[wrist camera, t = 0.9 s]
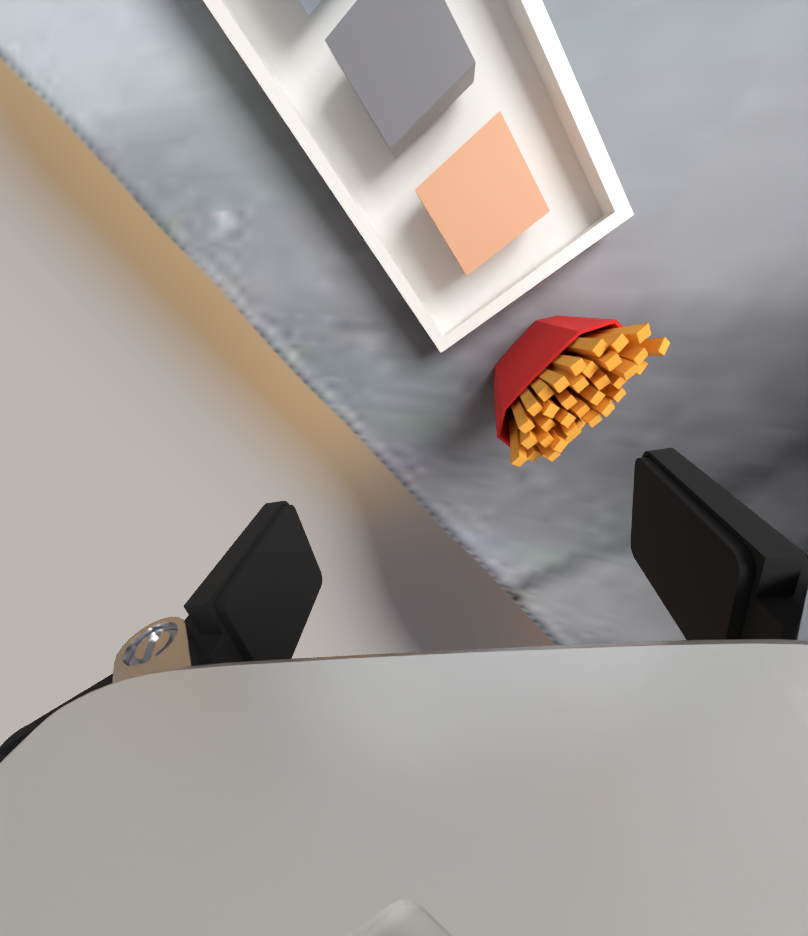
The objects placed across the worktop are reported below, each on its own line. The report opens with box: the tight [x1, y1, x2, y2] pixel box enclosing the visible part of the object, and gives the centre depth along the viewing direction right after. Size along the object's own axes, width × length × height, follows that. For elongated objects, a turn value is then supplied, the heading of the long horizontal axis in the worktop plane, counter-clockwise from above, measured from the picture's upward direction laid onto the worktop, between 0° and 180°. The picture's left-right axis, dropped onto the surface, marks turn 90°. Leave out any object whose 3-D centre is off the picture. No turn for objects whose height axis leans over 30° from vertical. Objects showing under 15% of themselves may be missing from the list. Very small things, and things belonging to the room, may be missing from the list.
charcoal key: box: [325, 0, 476, 159], centre depth 21 cm, size 6×6×2 cm
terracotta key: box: [415, 111, 550, 276], centre depth 23 cm, size 6×6×2 cm
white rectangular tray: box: [203, 0, 634, 353], centre depth 22 cm, size 14×28×3 cm, turn 37°
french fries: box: [494, 316, 670, 467], centre depth 24 cm, size 9×4×13 cm, turn 142°
